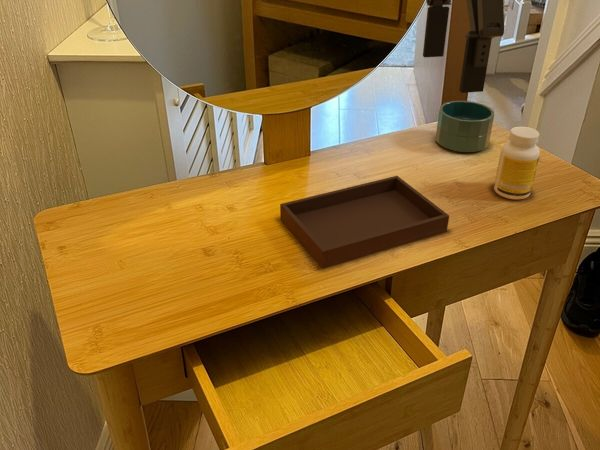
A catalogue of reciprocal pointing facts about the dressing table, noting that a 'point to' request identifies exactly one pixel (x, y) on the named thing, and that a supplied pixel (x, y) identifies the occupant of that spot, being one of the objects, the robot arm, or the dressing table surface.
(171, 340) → the dressing table surface
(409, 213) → the tray
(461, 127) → the cup
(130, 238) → the dressing table surface
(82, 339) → the dressing table surface
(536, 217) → the dressing table surface
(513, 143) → the supplement bottle
